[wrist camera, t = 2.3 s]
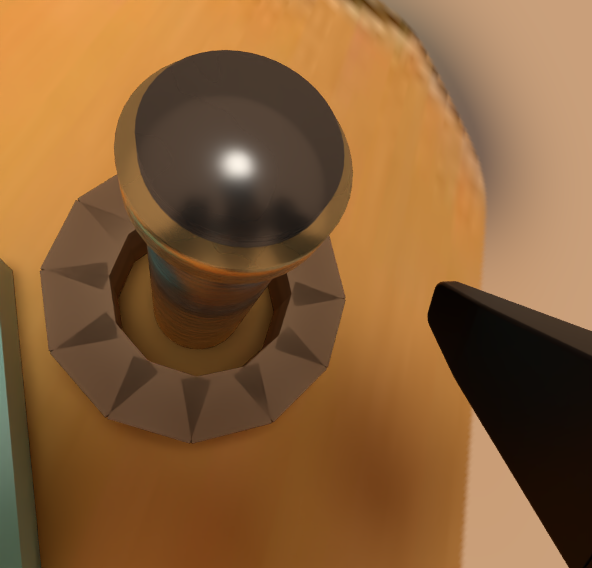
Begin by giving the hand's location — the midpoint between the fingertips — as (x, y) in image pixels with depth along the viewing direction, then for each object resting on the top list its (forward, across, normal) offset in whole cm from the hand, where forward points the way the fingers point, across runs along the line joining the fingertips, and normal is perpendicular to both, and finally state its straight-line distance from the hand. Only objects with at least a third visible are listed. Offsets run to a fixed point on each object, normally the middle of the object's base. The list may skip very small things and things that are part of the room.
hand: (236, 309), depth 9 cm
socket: (+8, 0, +5) cm, 10 cm away
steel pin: (+8, 0, +5) cm, 10 cm away
